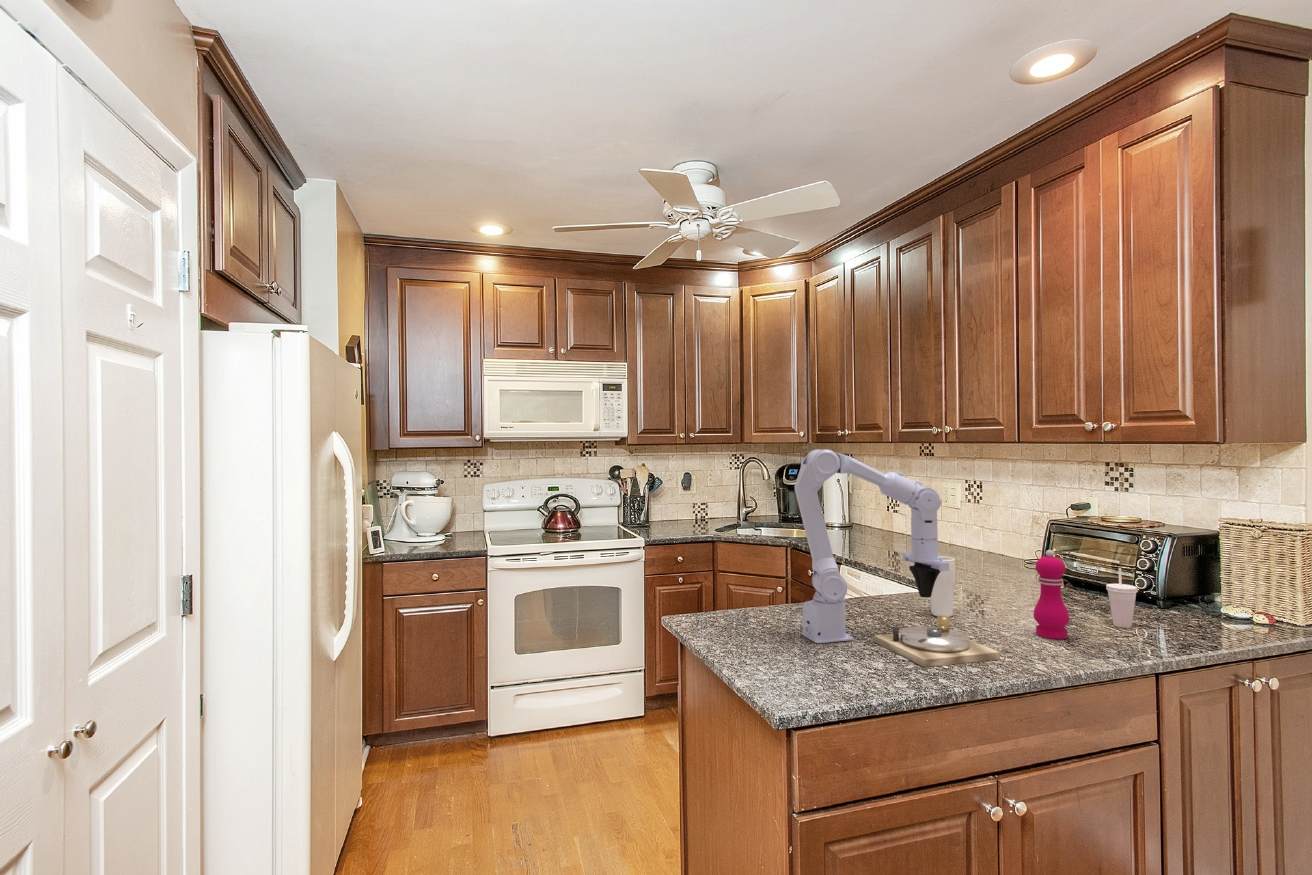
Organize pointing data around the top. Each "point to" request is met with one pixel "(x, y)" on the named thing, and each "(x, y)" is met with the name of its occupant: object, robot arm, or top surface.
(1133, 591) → the smoothie
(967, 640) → the flange disc
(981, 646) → the base plate
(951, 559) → the drinking glass
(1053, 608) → the pepper mill
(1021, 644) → the top surface
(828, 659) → the top surface
